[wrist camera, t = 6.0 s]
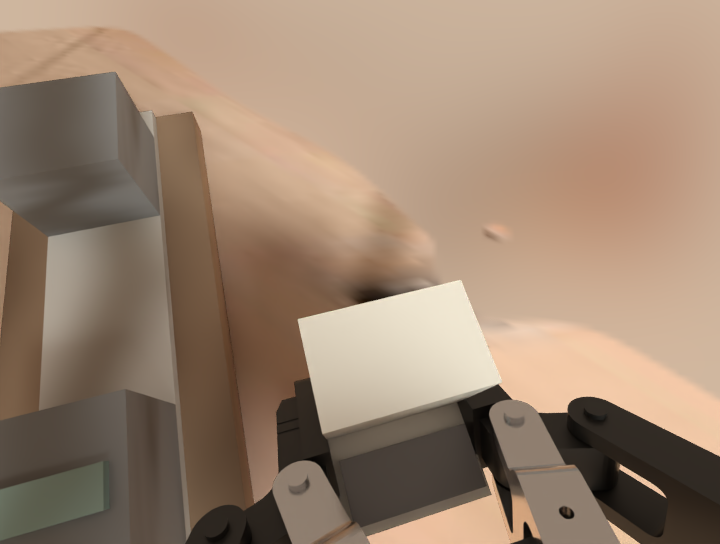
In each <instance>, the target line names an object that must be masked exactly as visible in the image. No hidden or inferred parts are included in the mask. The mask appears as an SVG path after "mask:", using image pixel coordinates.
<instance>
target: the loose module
mask: <svg viewBox="0 0 720 544" xmlns="http://www.w3.org/2000/svg"><path fill="white" fill-rule="evenodd" d="M298 324H299V329H300V333H301V338H302V342H303V347H304V352H305V356H306V361H307V366H308V370H309V375H310V379H311V384H312V389H313V393H314V398H315V402H316V407H317V412H318V416H319V421H320V426H321V430H322V434H323V436H324V437H325V438H326V439H327V440H328V443H329V447H330V452H331V456H332V461H333V465H334V470H335V474H336V479H337V483H338V488H339V492H340V496H339V497H340V501H341V504H342V506H343V508H344V509H345V511H346V513H347V515H348V517H349V518H350V520H351V521H352V522H354V521H356V522H357V523H358V524H359V526H360V527H361V529H362V531H363V532H364V534H365V536H369V535H372V534H375V533H378V532H381V531H384V530H387V529H390V528H393V527H396V526H399V525H402V524H405V523H408V522H411V521H414V520H417V519H420V518H423V517H426V516H429V515H432V514H435V513H438V512H441V511H444V510H447V509H450V508H453V507H456V506H459V505H462V504H465V503H468V502H471V501H474V500H477V499H480V498H483V497H486V496H489V495H492V494H491V492H490V489H489V486H488V483H487V480H486V478H485V475H484V472H483V469H482V466H481V464H480V461H479V458H478V455H477V454H475V451H474V449H473V446H472V443H471V440H470V437H469V434H468V432H467V429H466V426H465V423H464V420H463V418H462V415H461V412H460V409H459V406H458V404H457V402H459V401H461V400H463V399H466V398H468V397H471V396H473V395H475V394H477V393H480V392H482V391H484V390H486V389H488V388H491V387H493V386H495V385H497V384H500V383H502V380H501V377H500V375H499V373H498V370H497V368H496V365H495V363H494V360H493V358H492V355H491V353H490V350H489V348H488V346H487V343H486V341H485V338H484V336H483V333H482V331H481V328H480V326H479V323H478V321H477V319H476V316H475V314H474V311H473V309H472V306H471V304H470V301H469V299H468V297H467V294H466V292H465V289H464V287H463V284H462V282H461V280H458V281H454V282H450V283H446V284H442V285H437V286H433V287H429V288H425V289H421V290H417V291H412V292H408V293H404V294H400V295H396V296H392V297H388V298H383V299H379V300H375V301H371V302H367V303H363V304H358V305H354V306H350V307H346V308H342V309H338V310H333V311H329V312H325V313H321V314H317V315H313V316H309V317H304V318H300V319H298Z"/></svg>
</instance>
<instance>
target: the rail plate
mask: <svg viewBox="0 0 720 544" xmlns="http://www.w3.org/2000/svg"><path fill="white" fill-rule="evenodd" d="M0 201H1V202H2V203H3V204H5V205H6V206H7V207H9V208H10V209H11V210H13V215H12V225H11V235H10V246H9V256H8V266H7V276H6V287H5V297H4V307H3V318H2V328H1V338H0V544H185V543H186V541H187V539H188V537H189V535H190V533H191V531H192V529H193V527H194V526H195V524H196V523H197V522H198V521H199V520H200V519H201V518H202V517H203V516H204V515H205V514H206V513H208V512H209V511H211V510H212V509H214V508H217V507H219V506H223V505H236V506H238V507H240V508H241V509H242V510H243V511H244V510H246V509H247V508H249V507H250V506H252V505H254V501H253V494H252V487H251V480H250V473H249V466H248V459H247V452H246V445H245V438H244V431H243V424H242V417H241V410H240V403H239V396H238V389H237V382H236V375H235V368H234V361H233V354H232V347H231V340H230V333H229V326H228V319H227V312H226V305H225V298H224V291H223V284H222V277H221V270H220V263H219V256H218V249H217V242H216V235H215V228H214V221H213V214H212V207H211V200H210V193H209V186H208V179H207V172H206V165H205V158H204V151H203V144H202V137H201V131H200V128H199V126H198V124H197V122H196V119H195V117H194V115H193V112H187V113H181V114H175V115H168V116H162V117H155V115H154V113H153V112H152V111H145V112H139V111H138V109H137V108H136V106H135V104H134V103H133V101H132V99H131V97H130V96H129V94H128V92H127V91H126V89H125V87H124V85H123V84H122V82H121V80H120V79H119V77H118V75H117V74H116V72H110V73H102V74H95V75H88V76H81V77H74V78H66V79H59V80H52V81H45V82H37V83H30V84H23V85H16V86H9V87H1V88H0Z"/></svg>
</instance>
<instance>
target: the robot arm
mask: <svg viewBox="0 0 720 544" xmlns="http://www.w3.org/2000/svg"><path fill="white" fill-rule="evenodd" d="M294 385H295V393H296V397H293V398H289V399H286V400H282V402H281V404H280V406H279V408H278V410H277V412H276V416H277V435H278V436H277V441H278V467H279V473H278V475H277V477H276V478H275V480H274V483H273V488H272V490H271V491H270V492H269V493H268V494H267V495H266V496H265V497H264V498H263V499H261V500H260V501H258V502H257V503H255V504H254V505H252V506H250V507H249V508H247V509H246V510H244V511H243V510H242V509H241V508H240V507H238V506H236V505H223V506H219V507H217V508H214V509H212V510H211V511H209V512H208V513H206V514H205V515H204V516H203V517H202V518H201V519H200V520H199V521H198V522H197V523H196V524H195V526H194V527H193V529H192V531H191V533H190V535H189V537H188V539H187V541H186V543H185V544H370V543H369V541H368V539H367V537H366V536H365V534H364V532H363V531H362V529H361V527H360V526H359V524H358V523H357V522H356V521H354V522H352V521H351V520H350V518H349V517H348V515H347V513H346V511H345V509H344V508H343V506H342V504H341V501H340V497H339V496H340V492H339V488H338V483H337V479H336V474H335V470H334V465H333V461H332V456H331V452H330V447H329V443H328V440H327V439H326V438H325V437H324V436H323V434H322V430H321V426H320V421H319V416H318V412H317V407H316V402H315V398H314V393H313V389H312V384H311V379H310V378H307V379H303V380H299V381H295V382H294ZM457 404H458V406H459V409H460V412H461V415H462V418H463V420H464V423H465V426H466V429H467V432H468V434H469V437H470V440H471V443H472V446H473V449H474V451H475V454H477V455H478V458H479V461H480V464H481V466H482V468H485V467H488V468H489V470H490V471H491V473H492V483H493V487H494V491H495V494H496V497H497V500H498V504H499V507H500V510H501V514H502V517H503V520H504V523H505V527H506V530H507V533H508V536H509V540H510V543H511V544H620V542H619V540H618V539H617V537H616V535H615V533H614V531H613V530H612V528H611V526H610V524H609V523H608V521H607V520H609V521H610V522H611V523H613V524H614V525H615V526H617V527H618V528H620V529H621V530H622V531H624V532H625V533H626V534H628V535H629V536H630V537H632V538H633V539H635V540H636V541H637V542H639V543H640V544H720V457H719V456H717V455H715V454H713V453H711V452H709V451H707V450H705V449H703V448H701V447H699V446H697V445H695V444H693V443H691V442H689V441H687V440H685V439H683V438H681V437H679V436H677V435H675V434H673V433H671V432H669V431H667V430H665V429H663V428H661V427H659V426H657V425H655V424H653V423H651V422H649V421H647V420H645V419H643V418H641V417H639V416H637V415H634V414H632V413H630V412H628V411H626V410H624V409H622V408H620V407H618V406H616V405H614V404H612V403H610V402H608V401H606V400H603V399H600V398H595V397H580V398H577V399H574V400H573V401H571V402H570V403H569V405H568V413H538V412H537V411H536V410H535V409H534V408H533V407H532V406H530V405H529V404H527V403H525V402H522V401H517V400H512V399H511V398H510V397H509V395H508V394H507V393H506V392H505V391H504V390H503V389H502V388H501V387H500V386H499V384H497V385H495V386H493V387H491V388H488V389H486V390H484V391H482V392H480V393H477V394H475V395H473V396H471V397H468V398H466V399H463V400H461V401H459V402H457ZM620 464H621V465H623V466H624V467H626V468H628V469H629V470H631V471H633V472H634V473H636V474H638V475H639V476H641V477H643V478H644V479H646V480H647V481H649V482H651V483H652V484H654V485H655V486H657V487H658V488H659V489H660V490H661V491H662V492H663V493H664V495H665V496H666V498H665V497H663V496H662V495H660V494H658V493H657V492H655V491H654V490H652V489H650V488H649V487H647V486H646V485H644V484H642V483H641V482H639V481H637V480H636V479H634V478H633V477H631V476H629V475H628V474H626V473H624V472H623V471H621V470H620V469H619V467H620Z"/></svg>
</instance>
